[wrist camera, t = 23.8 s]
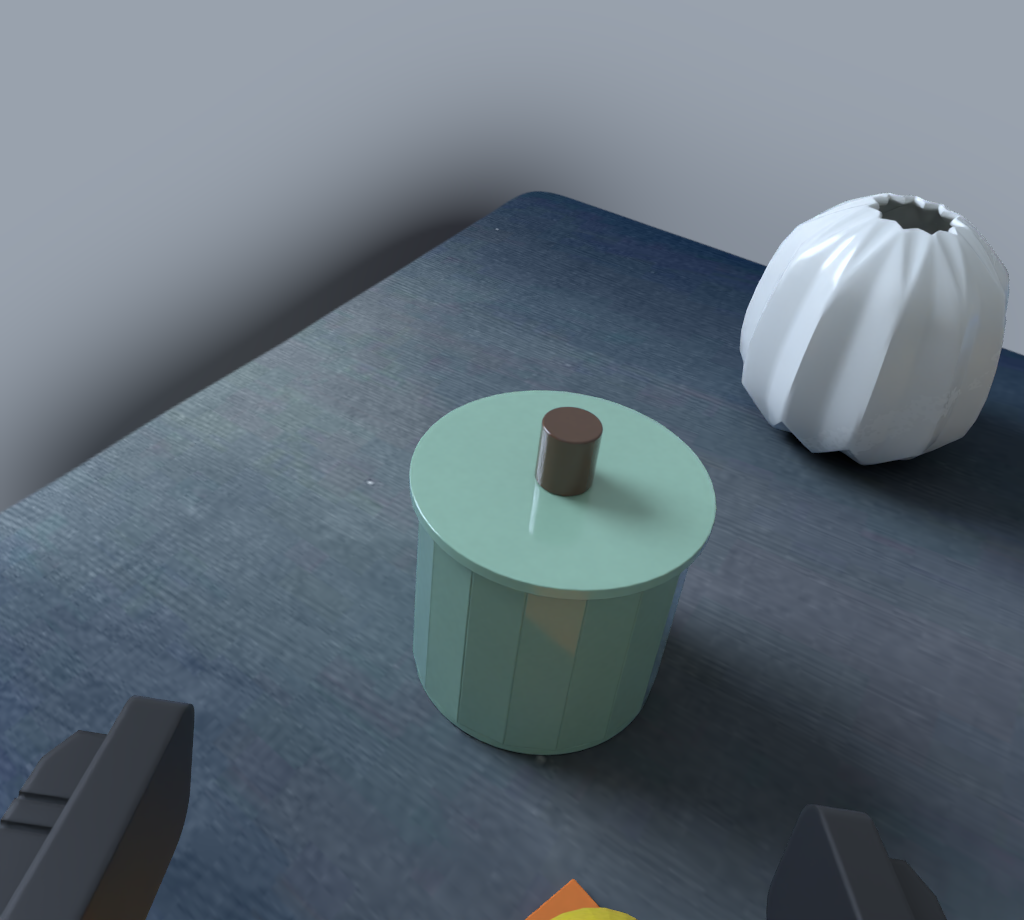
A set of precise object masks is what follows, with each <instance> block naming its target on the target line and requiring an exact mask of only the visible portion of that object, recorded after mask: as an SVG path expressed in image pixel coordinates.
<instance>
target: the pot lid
mask: <svg viewBox="0 0 1024 920" xmlns="http://www.w3.org/2000/svg"><path fill="white" fill-rule="evenodd" d="M409 490H410V498H411V501H412V505H413V508H414V511H415V513H416V515H417V517H418V519H419V521H420V523H421V525H422V526H423V528H424V529H425V530H426V532H427V533H428V535H429V536H430V537H431V538H432V539H433V540H434V542H435V543H436V544H437V545H438V546H439V547H440V548H441V549H442V550H443V551H444V552H446V553H447V554H448V555H449V556H451V557H452V558H453V559H454V560H456V561H457V562H458V563H460V564H461V565H463V566H465V567H466V568H468V569H469V570H471V571H473V572H474V573H476V574H478V575H480V576H482V577H484V578H486V579H489V580H491V581H493V582H495V583H498V584H500V585H503V586H506V587H509V588H511V589H514V590H518V591H522V592H526V593H529V594H533V595H538V596H544V597H550V598H556V599H569V600H603V599H610V598H617V597H624V596H628V595H632V594H636V593H640V592H644V591H646V590H649V589H651V588H654V587H657V586H659V585H662V584H663V583H665V582H667V581H669V580H671V579H672V578H674V577H676V576H677V575H679V574H680V573H681V572H683V571H684V570H685V569H686V568H688V567H689V566H690V565H691V564H692V563H693V562H694V561H695V560H696V559H697V557H698V556H699V555H700V554H701V552H702V551H703V549H704V547H705V546H706V544H707V543H708V540H709V537H710V534H711V532H712V529H713V525H714V522H715V515H716V496H715V492H714V488H713V484H712V481H711V479H710V477H709V475H708V473H707V470H706V469H705V467H704V466H703V464H702V463H701V461H700V459H699V458H698V457H697V456H696V454H695V453H694V452H693V451H692V450H691V449H690V448H689V446H688V445H686V444H685V443H684V442H683V441H682V440H681V439H680V438H679V437H678V436H676V435H675V434H674V433H672V432H671V431H670V430H668V429H667V428H666V427H664V426H663V425H661V424H659V423H658V422H656V421H654V420H653V419H651V418H649V417H647V416H645V415H643V414H641V413H639V412H637V411H635V410H633V409H630V408H628V407H625V406H623V405H620V404H617V403H614V402H611V401H608V400H604V399H601V398H597V397H592V396H588V395H583V394H577V393H570V392H561V391H539V390H531V391H518V392H509V393H503V394H497V395H493V396H489V397H485V398H481V399H478V400H476V401H473V402H470V403H467V404H465V405H463V406H461V407H459V408H457V409H455V410H453V411H451V412H450V413H448V414H447V415H445V416H444V417H442V418H441V419H439V420H438V421H437V422H436V423H435V424H434V425H433V426H431V427H430V428H429V430H428V431H427V432H426V433H425V434H424V436H423V437H422V438H421V440H420V442H419V443H418V445H417V447H416V449H415V451H414V454H413V457H412V460H411V464H410V472H409Z"/></svg>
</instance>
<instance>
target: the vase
mask: <svg viewBox="0 0 1024 920" xmlns="http://www.w3.org/2000/svg"><path fill="white" fill-rule="evenodd" d="M1008 296H1009V274H1008V271H1007V269H1006V267H1005V266H1004V264H1003V263H1002V262H1001V260H1000V259H999V257H998V256H997V254H996V253H995V251H994V250H993V248H992V247H991V246H990V244H989V243H988V242H987V240H986V239H985V238H984V237H983V236H982V235H981V233H980V232H979V231H978V230H977V229H976V228H975V227H974V226H973V225H972V224H971V223H970V222H969V221H968V220H967V219H966V218H965V217H963V216H962V215H960V214H958V213H955V212H952V211H951V210H950V209H949V208H948V207H946V206H945V205H943V204H940V203H936V202H930V201H926V200H924V199H922V198H920V197H918V196H913V195H908V196H900V195H896V194H892V193H881V194H876V195H871V196H867V197H862V198H857V199H853V200H850V201H846V202H843V203H841V204H839V205H836V206H834V207H832V208H830V209H828V210H826V211H824V212H822V213H820V214H819V215H818V216H816V217H814V218H812V219H810V220H808V221H806V222H804V223H802V224H801V225H798V226H797V227H796V228H795V229H794V230H793V231H792V232H791V233H790V235H789V236H788V237H787V238H786V239H785V240H784V241H783V242H782V243H781V245H780V246H779V248H778V250H777V251H776V253H775V254H774V256H773V258H772V259H771V261H770V262H769V264H768V266H767V268H766V270H765V272H764V274H763V276H762V278H761V280H760V282H759V284H758V285H757V288H756V290H755V292H754V295H753V297H752V299H751V302H750V304H749V306H748V309H747V312H746V315H745V319H744V322H743V326H742V330H741V340H740V352H741V356H742V359H743V362H744V367H743V374H742V384H743V386H744V387H745V389H746V390H747V392H748V393H749V395H750V397H751V398H752V400H753V401H754V403H755V404H756V406H757V407H758V409H759V410H760V412H761V413H762V415H763V416H764V417H765V419H766V420H767V422H768V423H769V424H770V425H771V426H772V427H773V428H776V429H778V430H783V431H787V432H792V433H793V434H794V435H795V436H796V437H797V439H798V440H799V441H800V442H801V443H802V444H803V445H804V446H805V447H806V448H807V449H808V450H810V451H811V452H812V453H822V452H831V451H841V452H842V453H844V454H845V455H847V456H848V457H850V458H851V459H853V460H854V461H856V462H857V463H859V464H861V465H872V464H878V463H883V462H889V461H894V460H910V459H913V458H915V457H917V456H919V455H922V454H924V453H927V452H930V451H932V450H935V449H937V448H939V447H942V446H944V445H946V444H948V443H951V442H953V441H955V440H958V439H960V438H962V437H964V435H965V434H966V433H967V432H968V430H969V429H970V428H971V426H972V425H973V424H974V422H975V421H976V419H977V417H978V415H979V413H980V411H981V409H982V407H983V405H984V403H985V401H986V399H987V396H988V393H989V390H990V387H991V384H992V381H993V378H994V375H995V372H996V368H997V364H998V360H999V356H1000V352H1001V348H1002V344H1003V338H1004V331H1005V325H1006V309H1007V303H1008Z"/></svg>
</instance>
